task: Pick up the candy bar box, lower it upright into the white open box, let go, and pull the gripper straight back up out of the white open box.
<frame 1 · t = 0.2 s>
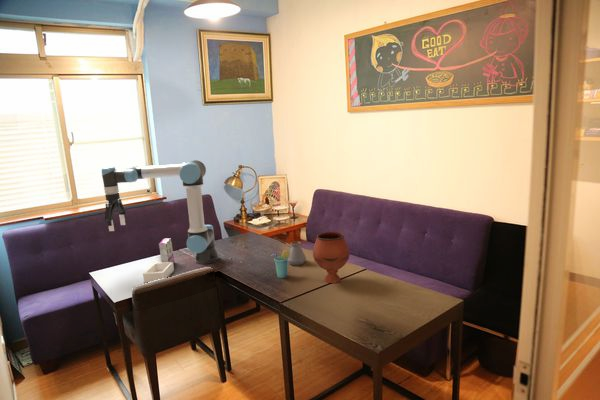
hand: (117, 227, 245), 28 cm above the table, fingers open, 13 cm apart
white open box: (159, 276, 238), on the table
cup: (281, 277, 226), on the table
candy bar box: (168, 266, 256), on the table
coffee pot: (290, 262, 248), on the table
goblet: (332, 280, 217), on the table
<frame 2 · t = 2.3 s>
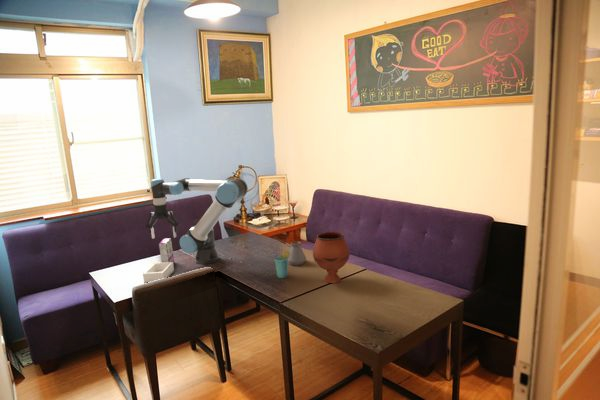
hand: (164, 237, 252), 18 cm above the table, fingers open, 13 cm apart
nothing on the table moved.
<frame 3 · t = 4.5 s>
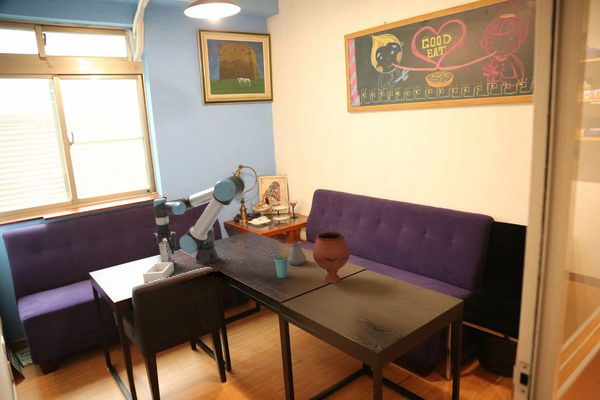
hand: (167, 259, 255), 4 cm above the table, fingers closed on candy bar box, 5 cm apart
candy bar box: (168, 265, 256), on the table, touching gripper
everything else where it was.
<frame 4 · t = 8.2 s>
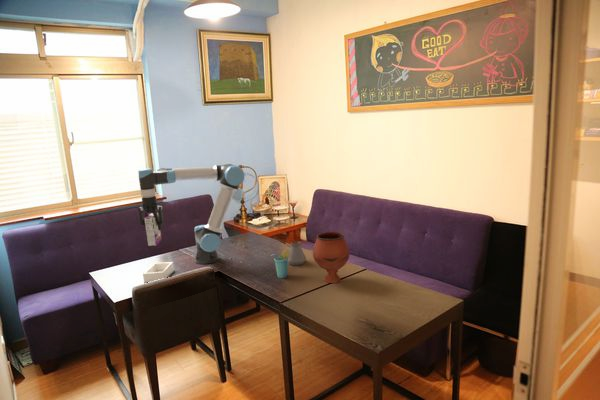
hand: (154, 235, 233), 25 cm above the table, fingers closed on candy bar box, 5 cm apart
candy bar box: (155, 243, 234), point 20 cm above the table, touching gripper
everything else where it was.
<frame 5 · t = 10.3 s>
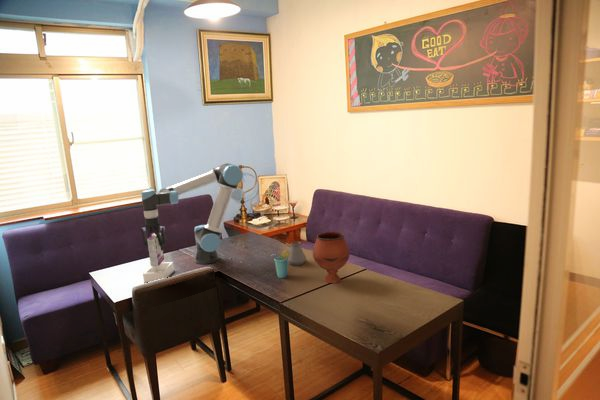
hand: (156, 255, 236), 13 cm above the table, fingers closed on candy bar box, 5 cm apart
candy bar box: (157, 263, 236), point 8 cm above the table, touching gripper
everything else where it was.
when the fingers open (7 cm above the table, at t = 12.2 s): candy bar box drops 2 cm, resting on white open box.
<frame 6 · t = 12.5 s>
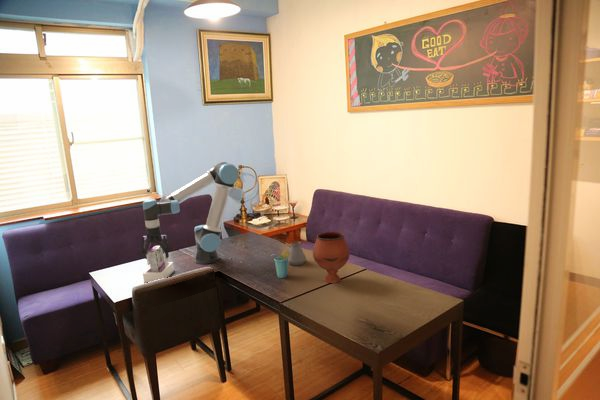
hand: (157, 263, 237), 8 cm above the table, fingers open, 9 cm apart
candy bar box: (159, 275, 238), point 1 cm above the table, touching white open box
everything else where it was.
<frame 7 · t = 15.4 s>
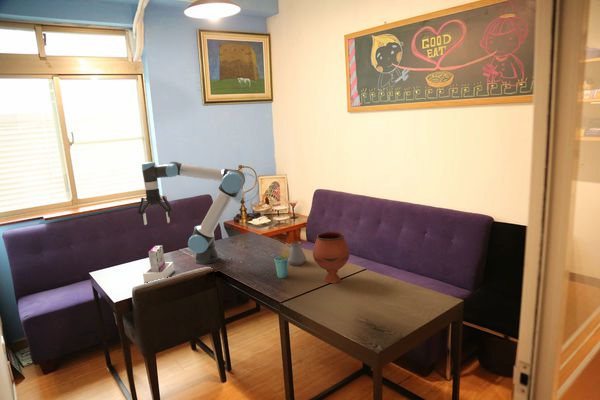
hand: (157, 223, 243), 29 cm above the table, fingers open, 13 cm apart
nothing on the table moved.
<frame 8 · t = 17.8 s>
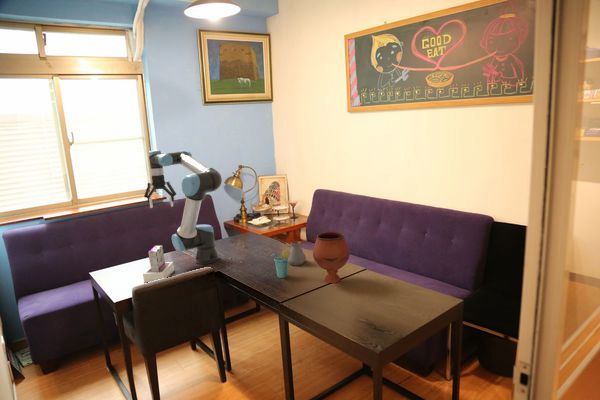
hand: (161, 207, 264), 35 cm above the table, fingers open, 13 cm apart
nothing on the table moved.
at the end: candy bar box 0.2 cm off-centre on the white open box, point 0.6 cm above the white open box's base; candy bar box tilted 0°; the gripper is holding nothing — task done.
